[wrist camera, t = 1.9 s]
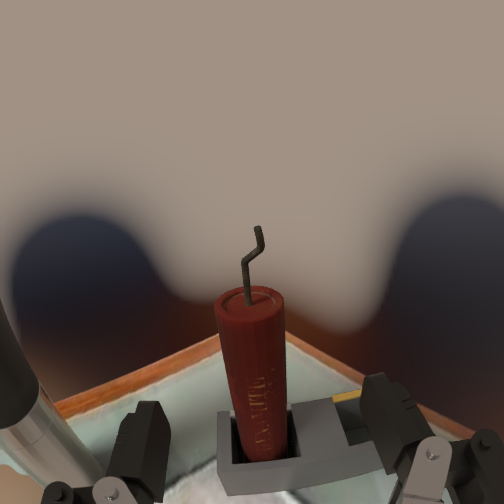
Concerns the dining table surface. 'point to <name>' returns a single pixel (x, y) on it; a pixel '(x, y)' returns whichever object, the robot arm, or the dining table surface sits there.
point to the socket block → (300, 449)
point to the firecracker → (255, 363)
